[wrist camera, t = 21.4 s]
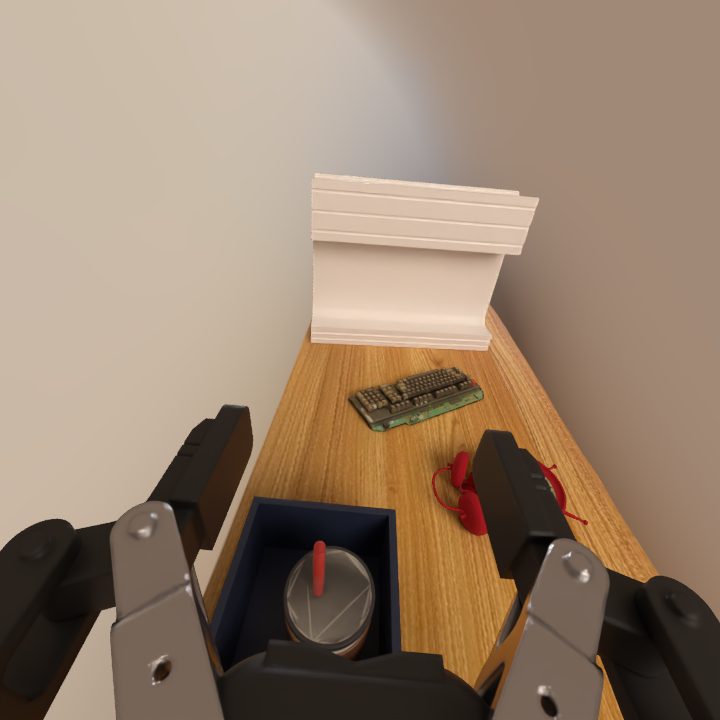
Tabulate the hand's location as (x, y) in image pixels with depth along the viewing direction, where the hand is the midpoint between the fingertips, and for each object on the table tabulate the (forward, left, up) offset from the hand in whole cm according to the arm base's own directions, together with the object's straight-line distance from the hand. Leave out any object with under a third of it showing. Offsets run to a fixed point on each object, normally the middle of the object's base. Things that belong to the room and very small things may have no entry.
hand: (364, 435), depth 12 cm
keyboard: (+34, -10, -26) cm, 44 cm away
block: (+53, -7, -26) cm, 60 cm away
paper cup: (+2, +1, -25) cm, 25 cm away
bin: (+3, +2, -26) cm, 26 cm away
